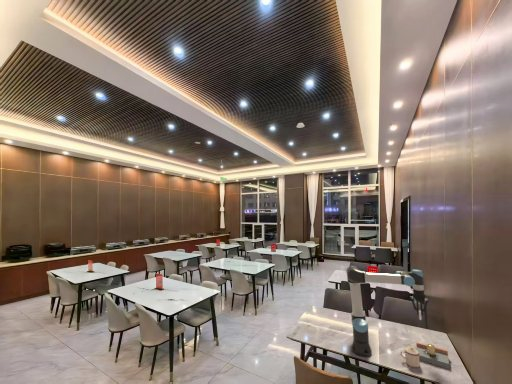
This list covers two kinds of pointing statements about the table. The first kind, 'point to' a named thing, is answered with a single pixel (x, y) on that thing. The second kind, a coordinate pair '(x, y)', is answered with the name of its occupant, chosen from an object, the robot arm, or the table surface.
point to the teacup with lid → (411, 357)
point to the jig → (439, 358)
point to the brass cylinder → (431, 350)
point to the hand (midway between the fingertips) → (420, 319)
